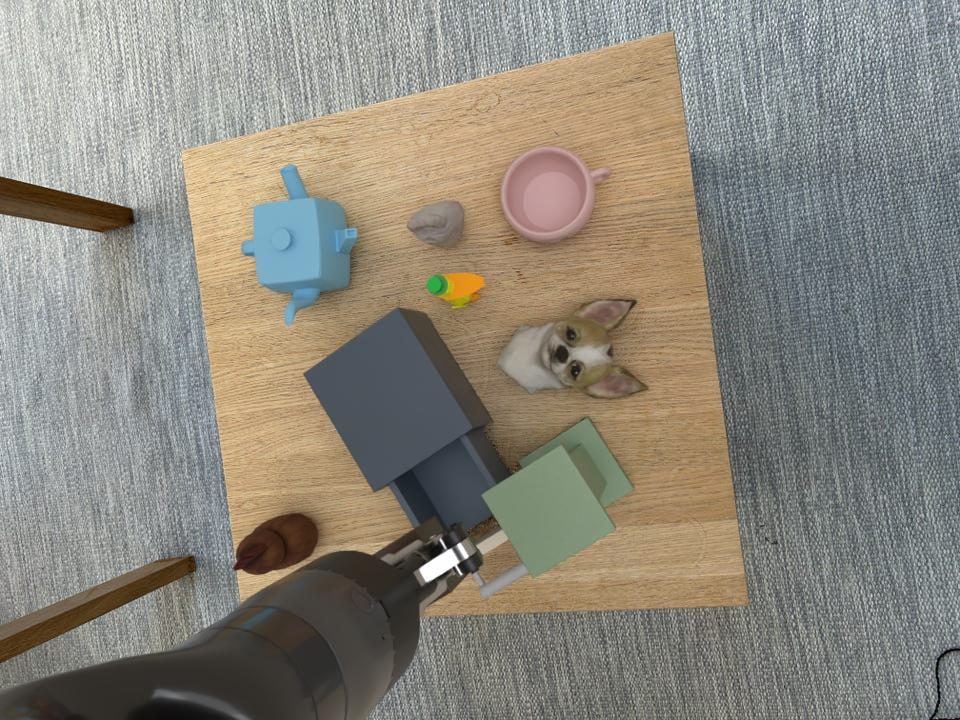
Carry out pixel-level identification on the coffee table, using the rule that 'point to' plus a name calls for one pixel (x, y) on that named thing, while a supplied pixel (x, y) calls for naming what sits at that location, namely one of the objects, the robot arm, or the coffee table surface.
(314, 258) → the teapot
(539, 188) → the mug
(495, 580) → the drawer
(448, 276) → the toy figure
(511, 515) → the stand
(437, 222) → the fossil
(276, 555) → the wooden figurine
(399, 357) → the cabinet
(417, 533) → the block
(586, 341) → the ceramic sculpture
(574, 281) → the coffee table surface
